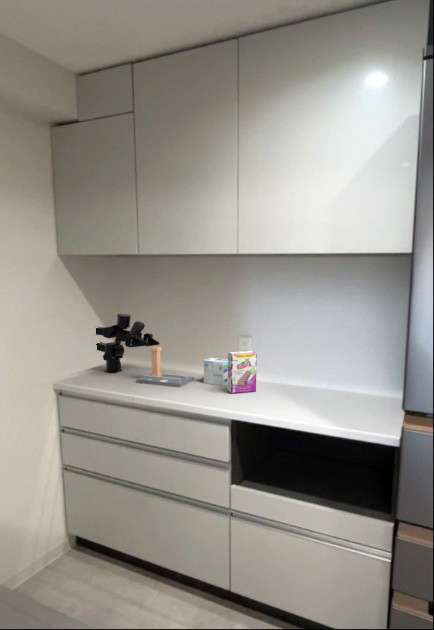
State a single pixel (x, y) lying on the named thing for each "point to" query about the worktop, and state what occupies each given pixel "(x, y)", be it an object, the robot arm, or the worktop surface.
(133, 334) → the robot arm
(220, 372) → the light bulb box
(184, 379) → the grey base plate
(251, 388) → the candy bar box
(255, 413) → the worktop surface
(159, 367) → the orange square pillar
